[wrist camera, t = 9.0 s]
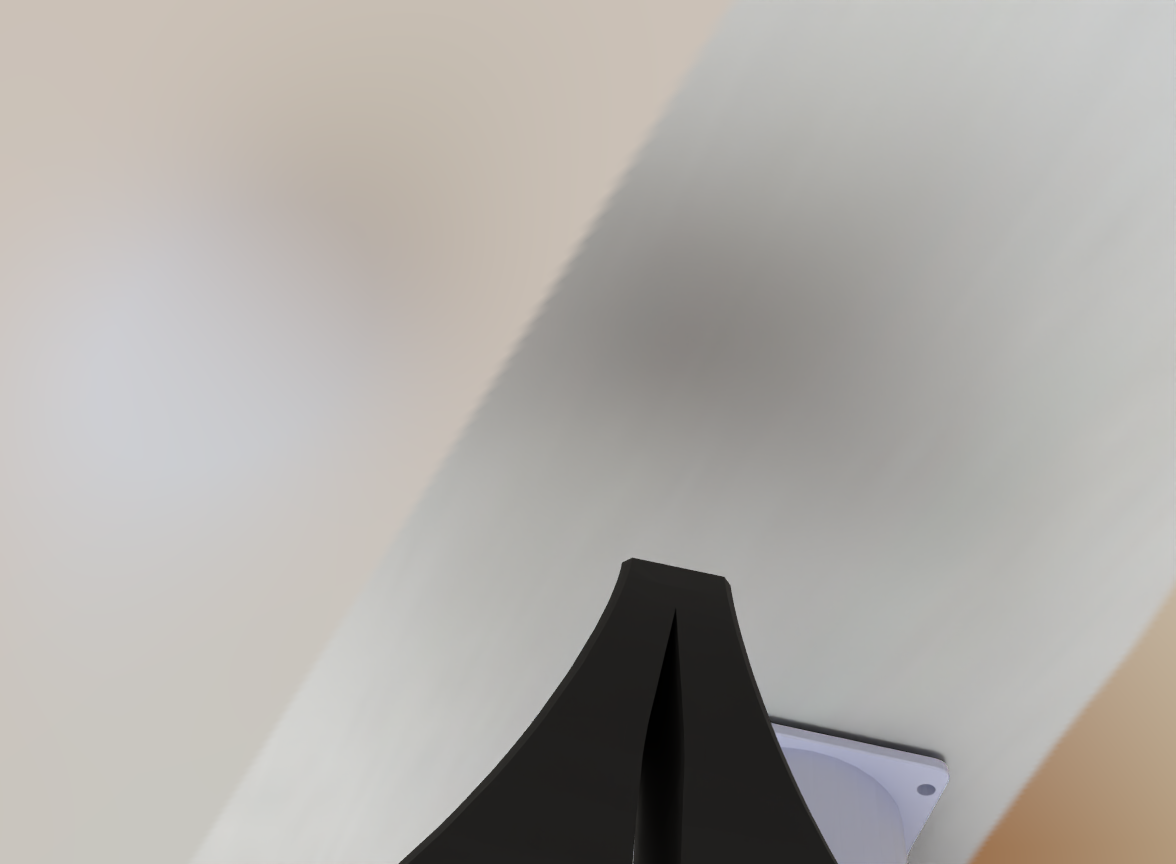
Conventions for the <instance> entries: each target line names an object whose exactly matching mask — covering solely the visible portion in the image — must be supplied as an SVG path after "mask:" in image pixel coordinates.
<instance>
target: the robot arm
mask: <svg viewBox="0 0 1176 864" xmlns="http://www.w3.org/2000/svg"><path fill="white" fill-rule="evenodd" d="M949 779H950V775H949V770H948V767H947V764H946V763H944V762H943V761H941V760H939V759H936V758H932V757H927V756H923V755H918V754H913V753H909V752H904V751H899V750H895V749H890V748H885V747H881V746H876V745H872V744H867V743H862V742H858V741H853V740H848V739H844V738H839V737H834V736H830V735H825V734H820V733H816V732H811V731H806V730H802V729H797V728H792V727H788V726H783V725H779V724H774V723H771V722H770V719H769V716H768V714H767V711H766V708H765V705H764V703H763V700H762V697H761V694H760V692H759V689H758V686H757V683H756V681H755V678H754V675H753V672H752V669H751V666H750V663H749V659H748V656H747V653H746V649H745V646H744V642H743V639H742V636H741V632H740V628H739V624H738V620H737V616H736V612H735V607H734V603H733V598H732V592H731V586H730V584H729V583H728V581H727V580H726V579H725V577H722V576H717V575H712V574H708V573H703V572H698V571H693V570H688V569H684V568H679V567H674V566H669V565H664V564H660V563H655V562H650V561H645V560H640V559H636V558H631V559H629V560H627V561H625V562H622V566H621V570H620V574H619V577H618V580H617V583H616V585H615V588H614V591H613V593H612V595H611V598H610V600H609V602H608V604H607V606H606V608H605V610H604V612H603V614H602V616H601V618H600V620H599V622H598V624H597V625H596V627H595V629H594V631H593V633H592V634H591V636H590V638H589V639H588V641H587V642H586V644H585V646H584V647H583V649H582V651H581V652H580V654H579V656H578V657H577V659H576V661H575V662H574V664H573V666H572V667H571V669H570V670H569V672H568V673H567V675H566V676H565V678H564V679H563V680H562V682H561V683H560V685H559V686H558V687H557V689H556V690H555V692H554V693H553V694H552V696H551V697H550V699H549V700H548V701H547V703H546V704H545V706H544V707H543V709H542V710H541V711H540V713H539V714H538V715H537V717H536V718H535V719H534V721H533V722H532V723H531V725H530V726H529V727H528V728H527V730H526V731H525V732H524V733H523V735H522V736H521V737H520V738H519V740H518V741H517V742H516V743H515V745H514V746H513V747H512V748H511V749H510V751H509V752H508V753H507V754H506V755H505V756H504V758H503V759H502V760H501V761H500V762H499V763H498V765H497V766H496V767H495V768H494V769H493V770H492V771H491V773H490V774H489V775H488V776H487V777H486V778H485V779H484V780H483V781H482V782H481V783H480V784H479V786H478V787H477V788H476V789H475V790H474V791H473V792H472V793H471V794H470V795H469V796H468V797H467V798H466V799H465V801H464V802H463V803H462V804H461V805H460V806H459V807H458V808H457V809H456V810H455V811H454V812H453V813H452V814H451V815H450V816H449V817H448V818H447V819H446V820H445V821H444V822H443V823H442V824H441V825H440V826H439V827H438V828H437V829H436V830H435V831H434V832H433V833H431V834H430V835H429V836H428V837H427V838H426V839H425V840H424V841H423V842H422V843H421V844H419V845H418V846H417V847H416V848H415V849H414V850H413V851H412V852H411V853H410V854H409V855H407V856H406V857H405V858H404V859H403V860H402V861H401V862H400V863H399V864H632V861H633V850H634V864H908V861H907V855H908V853H909V851H910V849H911V848H912V846H913V844H914V842H915V841H916V839H917V837H918V835H919V834H920V832H921V830H922V828H923V826H924V825H925V823H926V821H927V819H928V818H929V816H930V814H931V812H932V811H933V809H934V807H935V805H936V804H937V802H938V800H939V798H940V796H941V795H942V793H943V791H944V789H945V788H946V786H947V784H948V782H949ZM634 839H635V843H634Z"/></svg>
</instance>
